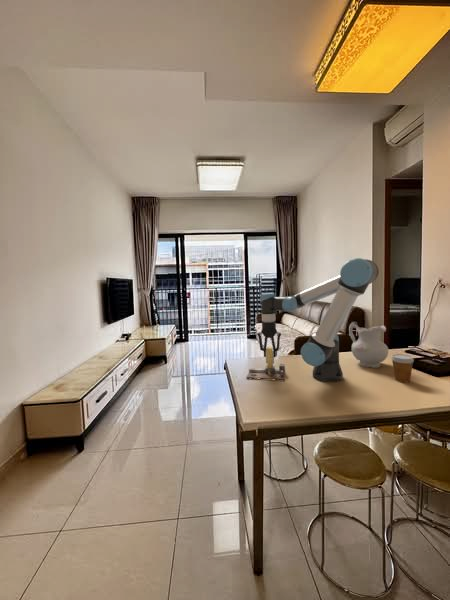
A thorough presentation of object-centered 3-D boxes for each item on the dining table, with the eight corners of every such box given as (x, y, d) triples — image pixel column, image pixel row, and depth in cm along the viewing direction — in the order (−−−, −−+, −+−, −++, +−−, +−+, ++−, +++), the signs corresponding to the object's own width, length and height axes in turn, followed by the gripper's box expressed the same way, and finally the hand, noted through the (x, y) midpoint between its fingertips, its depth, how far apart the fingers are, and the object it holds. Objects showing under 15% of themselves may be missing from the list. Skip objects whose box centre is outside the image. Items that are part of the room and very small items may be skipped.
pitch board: (285, 372, 150) (285, 363, 150) (284, 380, 139) (284, 370, 138) (250, 371, 156) (249, 362, 155) (246, 378, 144) (246, 368, 144)
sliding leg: (275, 370, 151) (274, 346, 150) (274, 376, 143) (273, 350, 142) (266, 370, 152) (265, 346, 151) (264, 375, 144) (263, 350, 143)
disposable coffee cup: (411, 377, 135) (411, 354, 134) (416, 384, 126) (416, 359, 126) (389, 375, 139) (389, 353, 138) (392, 382, 130) (392, 358, 130)
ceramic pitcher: (343, 366, 160) (341, 326, 157) (352, 356, 174) (351, 319, 171) (384, 373, 146) (384, 329, 142) (391, 361, 160) (391, 321, 157)
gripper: (283, 320, 149) (284, 361, 151) (255, 320, 153) (256, 360, 155) (283, 322, 142) (284, 365, 143) (253, 322, 146) (255, 364, 148)
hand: (270, 362), depth 149 cm, fingers closed on sliding leg, 3 cm apart
